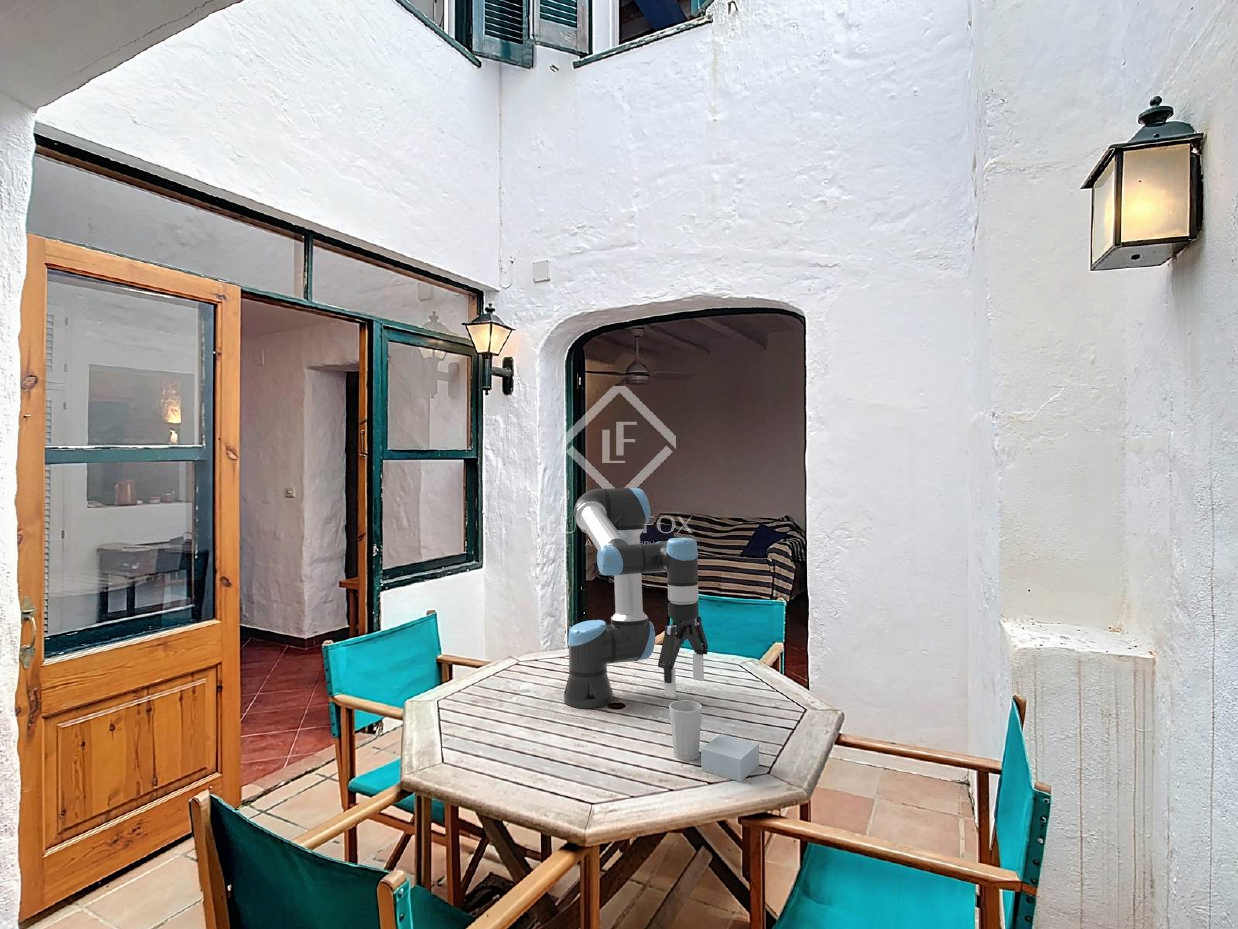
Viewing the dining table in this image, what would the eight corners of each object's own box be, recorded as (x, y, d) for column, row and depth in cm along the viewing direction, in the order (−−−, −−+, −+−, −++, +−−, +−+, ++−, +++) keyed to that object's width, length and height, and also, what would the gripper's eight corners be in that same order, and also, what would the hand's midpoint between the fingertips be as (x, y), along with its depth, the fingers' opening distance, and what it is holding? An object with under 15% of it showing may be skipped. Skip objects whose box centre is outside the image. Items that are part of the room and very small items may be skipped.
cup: (664, 751, 160) (663, 703, 160) (693, 745, 162) (692, 698, 163) (678, 764, 152) (677, 714, 152) (708, 758, 155) (707, 709, 155)
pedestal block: (721, 754, 157) (720, 734, 157) (759, 765, 151) (758, 743, 151) (701, 770, 149) (701, 748, 149) (740, 782, 143) (740, 759, 143)
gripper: (695, 591, 170) (696, 671, 170) (641, 608, 150) (643, 699, 150) (720, 594, 165) (722, 676, 165) (669, 612, 145) (671, 706, 145)
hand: (684, 687), depth 157 cm, fingers open, 13 cm apart
